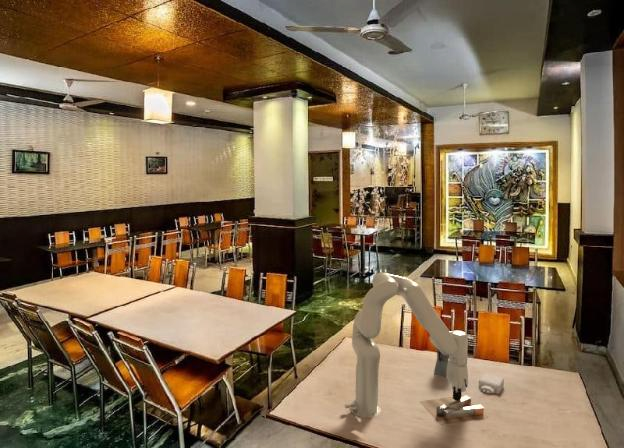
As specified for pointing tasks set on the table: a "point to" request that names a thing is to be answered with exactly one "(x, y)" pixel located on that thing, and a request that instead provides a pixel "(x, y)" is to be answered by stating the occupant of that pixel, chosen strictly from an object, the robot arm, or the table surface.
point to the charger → (491, 383)
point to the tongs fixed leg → (464, 412)
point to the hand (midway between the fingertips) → (457, 399)
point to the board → (432, 407)
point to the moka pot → (441, 364)
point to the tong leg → (453, 405)
